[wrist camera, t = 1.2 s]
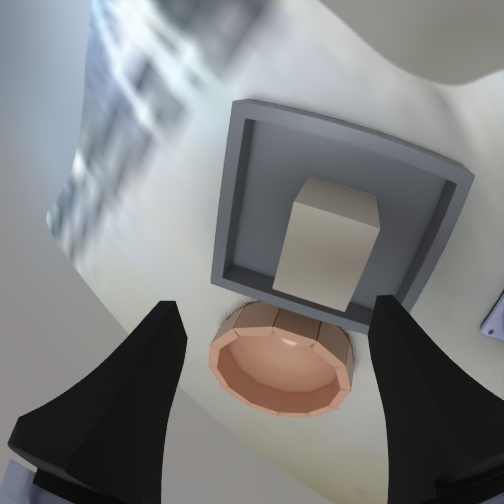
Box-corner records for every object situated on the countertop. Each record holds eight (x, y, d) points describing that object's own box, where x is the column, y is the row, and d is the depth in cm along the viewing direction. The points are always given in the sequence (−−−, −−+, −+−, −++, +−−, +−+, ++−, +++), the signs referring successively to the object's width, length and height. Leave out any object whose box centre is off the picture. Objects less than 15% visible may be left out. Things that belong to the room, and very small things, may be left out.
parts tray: (461, 164, 14) (474, 175, 12) (390, 318, 21) (391, 342, 19) (248, 99, 17) (232, 100, 15) (224, 265, 23) (210, 283, 21)
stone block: (376, 195, 16) (380, 228, 13) (350, 266, 19) (344, 312, 15) (309, 174, 17) (293, 201, 13) (291, 247, 20) (272, 288, 16)
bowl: (375, 327, 21) (374, 357, 19) (326, 403, 28) (320, 428, 25) (230, 280, 24) (214, 305, 21) (218, 367, 30) (206, 389, 27)
